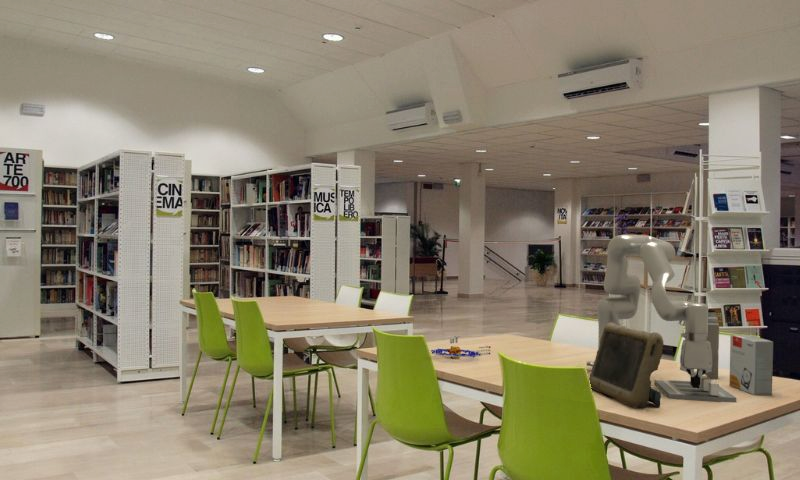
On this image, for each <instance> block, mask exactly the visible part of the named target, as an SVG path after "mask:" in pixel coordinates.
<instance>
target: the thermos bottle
mask: <svg viewBox="0 0 800 480" xmlns="http://www.w3.org/2000/svg"><path fill="white" fill-rule="evenodd" d="M708 341H709V342H710V344H711V350H712V368H711V369H712V371H711V372H708V373H705V375H706V376H707V378H709V379H711V380H717V378H719V357H720V356H719V346H720V323H718V317H717V316H716V310H715V309H709V308H708Z"/></svg>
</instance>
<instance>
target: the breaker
mask: <svg viewBox="0 0 800 480" xmlns="http://www.w3.org/2000/svg"><path fill="white" fill-rule="evenodd" d="M719 386H720V384H719V383H718V382H716V381H711V382H709V385H708V393H709V394H710V395H718V396H719Z"/></svg>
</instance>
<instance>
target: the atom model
mask: <svg viewBox="0 0 800 480" xmlns="http://www.w3.org/2000/svg"><path fill="white" fill-rule="evenodd" d="M459 337H461V336H460V335H452V338H450V339H449V344H458V342H459V341H458V338H459ZM485 348H486V349H485ZM491 348H492V347H491V346H490V345H489V346H487V345H484V346H479V347H478V350H476V351H474V350H469V349H461V348H460V347H459V346H452V345H451V346H450V348H435V349H429V350H428V351H429V352H430V353H431V354H432V355H437V356H442V357H443V356H444V357H450V358H451V359H454V360H460V358H476V357H481V356H483V355H491ZM479 349H481V350H479Z"/></svg>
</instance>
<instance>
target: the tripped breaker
mask: <svg viewBox="0 0 800 480" xmlns="http://www.w3.org/2000/svg"><path fill="white" fill-rule="evenodd" d="M709 382H712V379H709V378H704V377H703V378H701V389H702V390H703V391H708V385H709Z"/></svg>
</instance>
